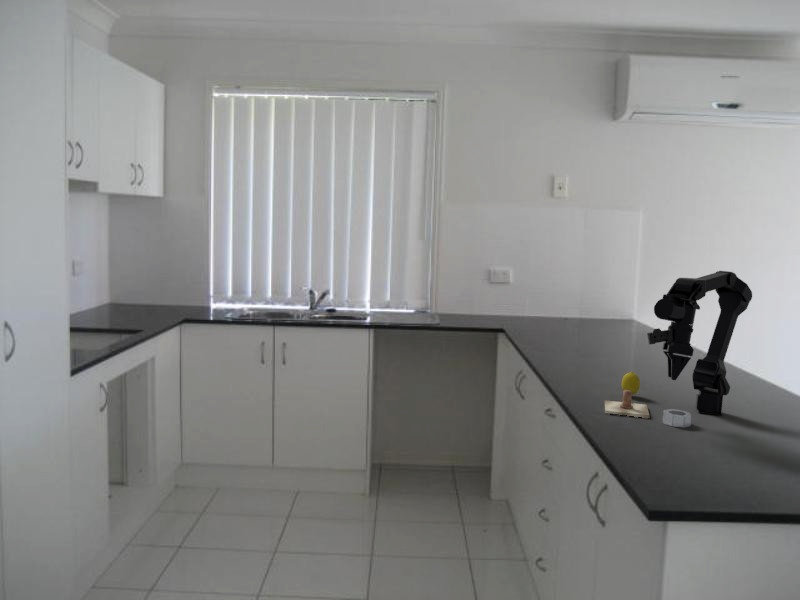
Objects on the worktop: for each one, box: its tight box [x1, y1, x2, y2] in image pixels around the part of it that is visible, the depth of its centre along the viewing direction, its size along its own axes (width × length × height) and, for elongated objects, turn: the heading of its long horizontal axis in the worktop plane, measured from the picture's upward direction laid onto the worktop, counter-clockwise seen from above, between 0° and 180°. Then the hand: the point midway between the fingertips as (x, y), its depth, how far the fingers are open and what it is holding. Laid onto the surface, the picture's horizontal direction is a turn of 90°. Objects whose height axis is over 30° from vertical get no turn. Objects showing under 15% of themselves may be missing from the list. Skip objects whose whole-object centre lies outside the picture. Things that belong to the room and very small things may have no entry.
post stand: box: [604, 390, 650, 419], centre depth 211 cm, size 12×12×6 cm
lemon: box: [621, 371, 641, 396], centre depth 229 cm, size 6×6×8 cm
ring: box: [662, 408, 692, 428], centre depth 200 cm, size 7×7×3 cm
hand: (671, 378), depth 200 cm, fingers open, 9 cm apart
